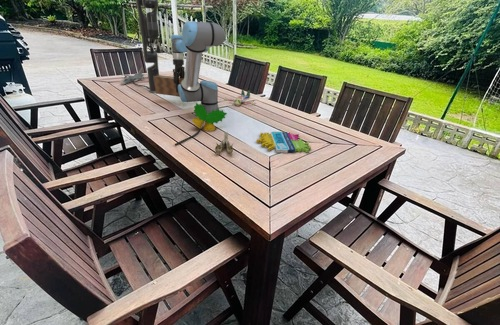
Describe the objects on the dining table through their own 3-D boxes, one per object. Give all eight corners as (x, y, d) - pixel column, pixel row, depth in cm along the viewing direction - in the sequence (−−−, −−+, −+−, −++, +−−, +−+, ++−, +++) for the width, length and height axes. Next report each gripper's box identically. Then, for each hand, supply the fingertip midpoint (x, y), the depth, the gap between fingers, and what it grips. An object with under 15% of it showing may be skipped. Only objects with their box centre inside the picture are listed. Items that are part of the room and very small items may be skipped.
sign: (313, 150, 142) (258, 149, 139) (312, 153, 143) (258, 152, 140) (301, 132, 164) (254, 130, 161) (301, 134, 165) (254, 133, 162)
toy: (261, 91, 228) (254, 99, 202) (261, 99, 231) (253, 108, 205) (231, 87, 233) (220, 95, 207) (230, 95, 236) (219, 104, 210)
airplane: (115, 77, 268) (113, 67, 262) (148, 75, 281) (146, 66, 276) (118, 87, 239) (116, 75, 234) (154, 84, 252) (153, 74, 247)
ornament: (218, 133, 171) (224, 110, 169) (221, 134, 163) (227, 111, 161) (186, 125, 162) (192, 101, 160) (189, 126, 155) (195, 101, 153)
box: (187, 95, 200) (186, 78, 194) (183, 97, 195) (182, 79, 189) (160, 91, 205) (158, 74, 199) (155, 93, 200) (153, 76, 193)
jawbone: (234, 135, 144) (233, 125, 135) (233, 160, 138) (232, 151, 129) (217, 135, 144) (216, 125, 135) (216, 160, 138) (214, 150, 129)
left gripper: (153, 28, 197) (156, 51, 205) (142, 28, 185) (145, 53, 193) (162, 29, 196) (165, 52, 204) (152, 29, 184) (154, 54, 191)
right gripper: (179, 57, 195) (181, 88, 206) (166, 60, 178) (169, 93, 190) (189, 57, 193) (190, 89, 204) (176, 61, 177) (178, 95, 188)
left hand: (155, 52), depth 198 cm, fingers open, 8 cm apart
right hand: (180, 91), depth 197 cm, fingers closed on box, 6 cm apart
